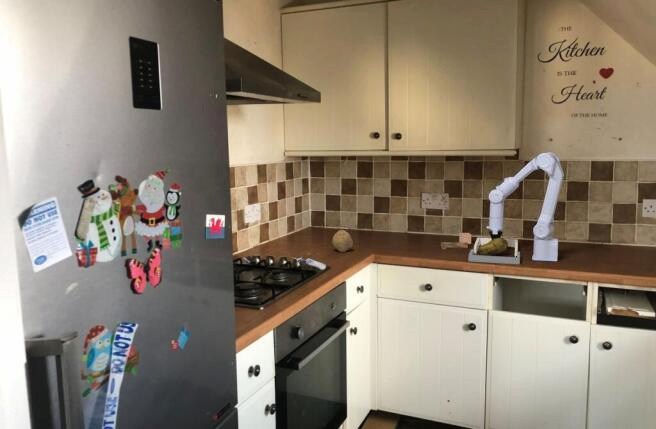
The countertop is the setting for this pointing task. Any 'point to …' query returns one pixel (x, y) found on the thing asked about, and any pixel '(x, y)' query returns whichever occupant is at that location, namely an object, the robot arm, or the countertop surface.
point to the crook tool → (454, 245)
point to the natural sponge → (342, 241)
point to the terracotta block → (465, 238)
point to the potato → (493, 247)
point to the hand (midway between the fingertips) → (495, 247)
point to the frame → (494, 258)
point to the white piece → (485, 240)
